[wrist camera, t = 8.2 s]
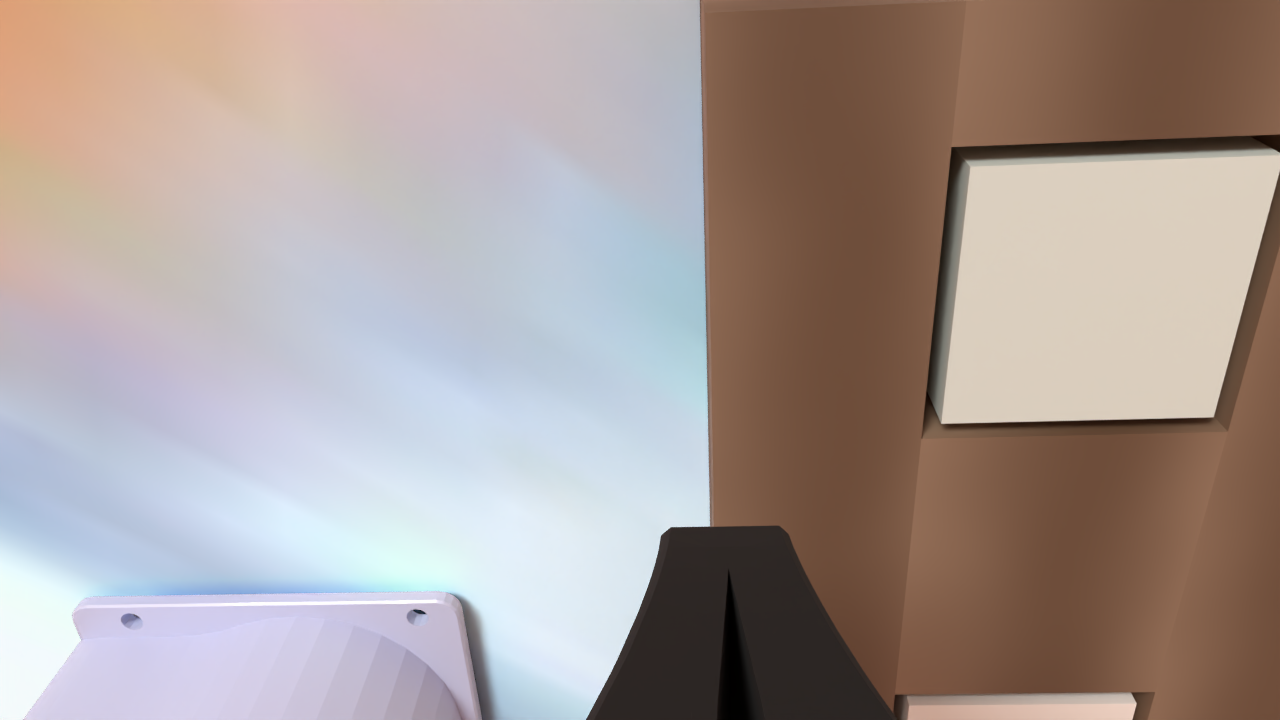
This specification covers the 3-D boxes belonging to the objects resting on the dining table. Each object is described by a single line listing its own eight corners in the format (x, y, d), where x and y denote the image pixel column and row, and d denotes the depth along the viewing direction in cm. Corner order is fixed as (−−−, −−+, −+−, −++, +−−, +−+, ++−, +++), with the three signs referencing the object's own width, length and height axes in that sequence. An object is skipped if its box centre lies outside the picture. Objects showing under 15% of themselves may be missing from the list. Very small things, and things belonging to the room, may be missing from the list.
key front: (904, 340, 19) (941, 423, 16) (924, 113, 17) (970, 166, 14) (1138, 333, 19) (1213, 417, 16) (1188, 102, 17) (1284, 155, 14)
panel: (714, 766, 26) (720, 911, 23) (699, -27, 17) (704, 12, 13) (1173, 763, 26) (1252, 912, 22) (1427, -62, 16) (1634, -31, 13)
